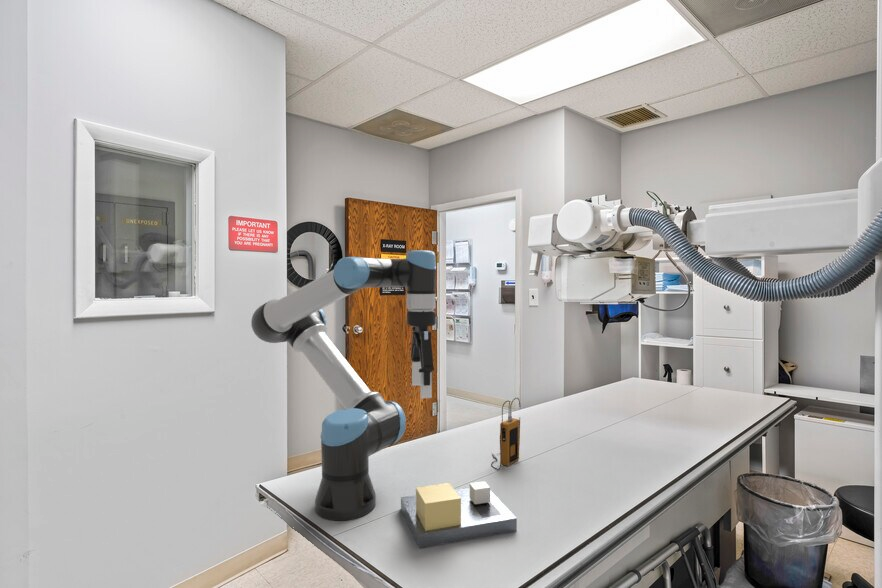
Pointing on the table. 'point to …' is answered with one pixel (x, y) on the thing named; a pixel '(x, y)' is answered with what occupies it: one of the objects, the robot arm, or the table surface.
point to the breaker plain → (479, 492)
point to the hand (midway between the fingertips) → (421, 391)
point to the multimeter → (509, 439)
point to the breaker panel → (462, 521)
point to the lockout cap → (438, 506)
